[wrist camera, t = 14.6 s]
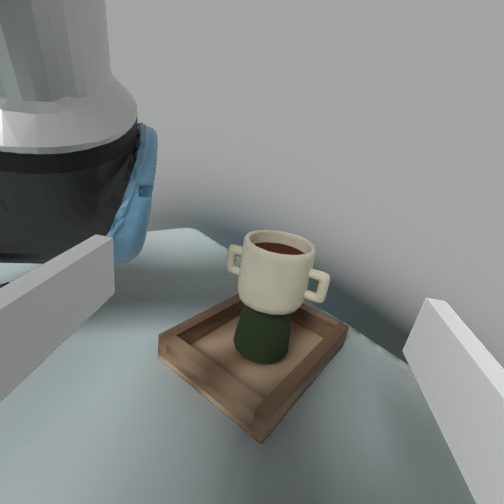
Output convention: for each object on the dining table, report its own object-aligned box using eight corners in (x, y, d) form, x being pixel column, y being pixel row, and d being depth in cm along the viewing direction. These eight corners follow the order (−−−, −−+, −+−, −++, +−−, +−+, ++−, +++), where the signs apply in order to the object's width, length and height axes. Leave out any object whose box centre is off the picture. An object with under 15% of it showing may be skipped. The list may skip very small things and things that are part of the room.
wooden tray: (158, 358, 32) (158, 334, 31) (257, 300, 45) (260, 282, 44) (261, 443, 25) (267, 417, 24) (342, 346, 38) (349, 326, 37)
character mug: (314, 349, 36) (342, 246, 31) (296, 390, 30) (328, 271, 25) (232, 316, 40) (246, 220, 35) (201, 347, 34) (213, 235, 29)
